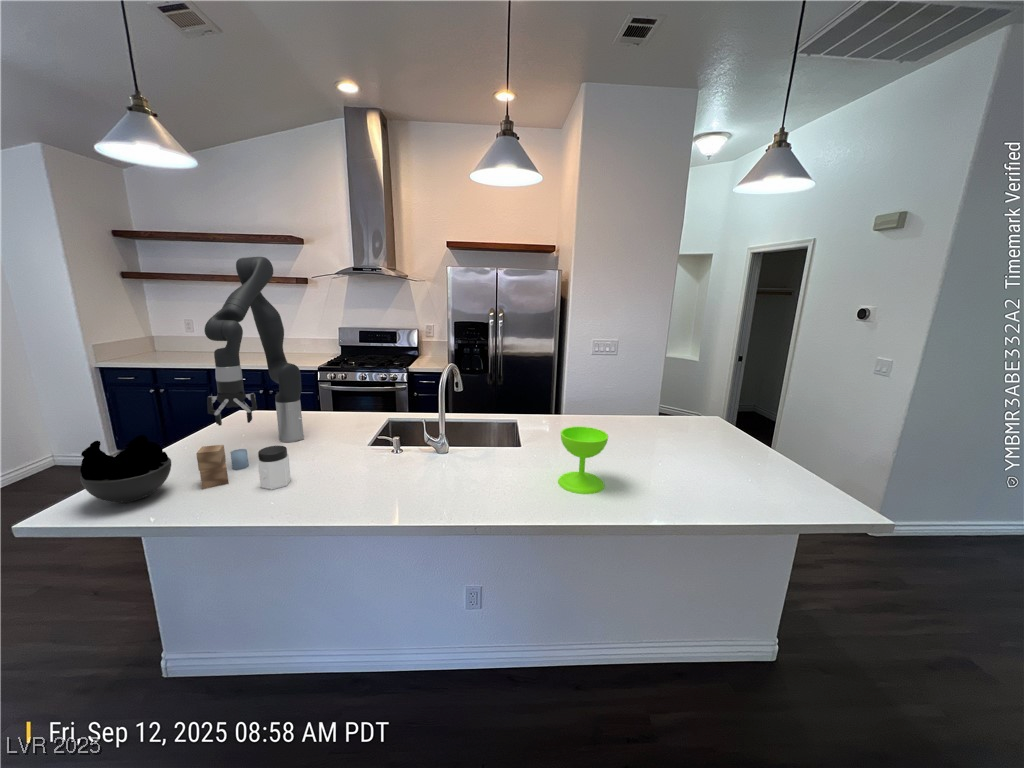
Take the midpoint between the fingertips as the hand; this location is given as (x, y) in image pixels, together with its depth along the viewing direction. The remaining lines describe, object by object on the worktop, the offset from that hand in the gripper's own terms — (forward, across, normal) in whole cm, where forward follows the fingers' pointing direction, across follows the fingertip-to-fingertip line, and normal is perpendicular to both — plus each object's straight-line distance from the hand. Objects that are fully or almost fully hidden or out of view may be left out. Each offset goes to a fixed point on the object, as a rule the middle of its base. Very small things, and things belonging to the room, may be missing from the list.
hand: (234, 423), depth 145 cm
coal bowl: (+17, +26, +14) cm, 34 cm away
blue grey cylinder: (+16, 0, 0) cm, 17 cm away
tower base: (+17, +6, +11) cm, 21 cm away
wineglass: (+16, -107, +60) cm, 124 cm away
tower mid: (+11, +6, +11) cm, 16 cm away
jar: (+17, -12, +20) cm, 29 cm away
